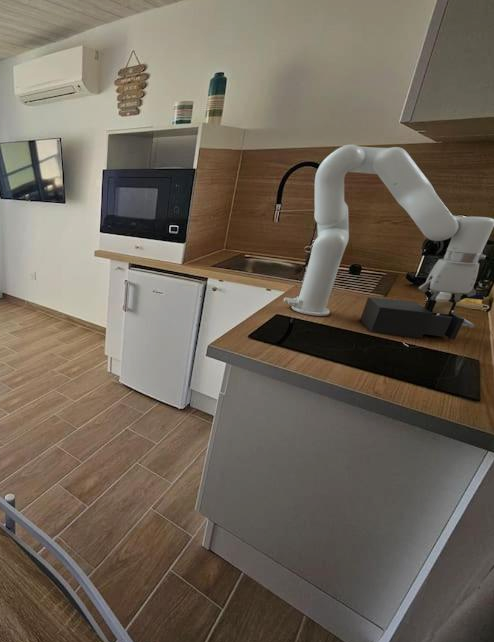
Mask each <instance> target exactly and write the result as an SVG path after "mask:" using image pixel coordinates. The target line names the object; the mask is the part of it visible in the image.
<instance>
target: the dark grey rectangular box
mask: <svg viewBox="0 0 494 642" xmlns="http://www.w3.org/2000/svg"><path fill="white" fill-rule="evenodd" d="M424 307H425V306H423V305H421V304H420V303H418V302H417V301H408V300H399V299H389V298H382V297H381V298H380V297H373V296H372V297H371V296H368V297H367V299H366V302H365V305H364V308H363V311H362V314H361V316H360V320H359V321H360V322H361V323H362V324H363V325H364V326H365V327H366V328H367V329H368V330H369V332H371V333H376V334H384V335H385V334H386V335H393V336H401V337H407V338H414V339H423V336H424V335H425V334H424V332H425V330H426V328H427V326H428V323H429V321H430V319H431V317H432V314H433V313H432V312H430V311H429V310H427V309H426V308H424Z"/></svg>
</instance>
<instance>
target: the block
mask: <svg viewBox="0 0 494 642" xmlns="http://www.w3.org/2000/svg"><path fill="white" fill-rule="evenodd" d="M435 300H436V303H435V306H434V308H433V310H432V313H439V314H449V311H450V309H451V307H452V305H453V303H452V302H450V301H449V300H446V299H435Z"/></svg>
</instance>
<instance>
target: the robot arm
mask: <svg viewBox="0 0 494 642" xmlns="http://www.w3.org/2000/svg"><path fill="white" fill-rule="evenodd" d="M347 173H356V174H357V173H358V174H367V175H368V174H369V175H377V176H378V177H379V179H380V180H381V182H382V183H383V184H384V185H385V187H386V189H388V191H389V192H390V194H391V195H392V196H393V198H394V199H395V201H396V202H397V203H398V205H399V206H401V207H402V208H403V209H404V210H405V212H406V213H407V214H408V216H409V217H410V219H412V221H413V222H414V223H415V225H416V227H417V228H418V229H419V230H420V232H421V233H422V234H423V236H424V237H425V238H426V239H428V240H430V241H433V242H435V241H436V242H442V241H445V240H449V239H450V241H449V244H448V247H447V248H446V251H445V253H444V255H443V257H442V259H441V258H440V259H438V260H437V262H436V263H435V264H434V266H433V267H432V268H431V270H430V272H429V273H428V276H427V278H426V280H425V282H423V283H422V284H421V285H419V286H418V288H417V289H418V290H419V291H420V292H422V293H423V295H425V297H426V298H427V300H426V302H425V304H424V307H425V308H426V309H427V310H429V311H430V312H432V310H433V308H434V306H435V303H436V300H435V299H436V297H437V296H438V295H439V293H440V292H448V293H451V298H450V300H449V301H450V302H452V303H453V305H452V307H451V309H450V311H449V314H450V313H451V311H453V312H454V311H455V308H456V306H457V304H456V303H460V302H461V301H462V300H465V299H467V298H470V297H474V296H476V295H477V291H476V290H475V287H474V286H475V284H476V280H477V278H478V274H479V270H480V269H479V268H480V262H479V261H481V260H485V259H486V257H487V255H486V254H483V251H484V249H485V247H486V244H487V242H488V240H489V238H490V235H491V234H492V231H493V230H494V218H492V217H488V216H459V215H453V214H452V213H451V211H450V210H449V209H448V207H447V206H446V205H445V203H444V202H443V201H442V199H441V198H440V197H439V195H438V193H437V192H436V191H435V189H434V187H433V185H432V183H431V182H430V180H429V179H428V178H427V177H426V176H425V173H423V171H422V170H421V169H420V167H419V166H418V165H417V163H416V162H415V160H413V158H412V156H410V154H409V153H408V152H407V150H405V149H404V148H402V147H399V146H392V147H373V146H360V145H357V144H346V145H342V146H340V147H339V148H337V149H335V150H333V151H332V152H331V153H330V154H328V155H327V156H326V157H325V158H324V159H323V161H322V162H321V163H320V164H319V166H318V168H317V170H316V172H315V177H314V212H313V213H314V214H313V217H314V220H315V222H316V224H317V225H316V226H317V227H316V228H317V236H316V237H315V239H314V241H313V244H312V248H311V252H310V256H309V260H308V264H307V268H306V271H305V274H304V278H303V281H302V285H301V289H300V291H299V296H298V295H297V296H296V297H293V298H290V297H284V298H283V303H287V304H288V305H291V307H290V308H291V309H292V310H293V311H295V312H297V313H300V314H304V315H308V316H315V317H325V316H329V315H330V312H331V311H330V309H329V308H327V306H328V303H329V300H330V297H331V294H332V290H333V287H334V285H335V282H336V278H337V274H338V271H339V269H340V265H341V262H342V259H343V256H344V253H345V251H346V248H347V245H348V244H349V239H350V227H349V223H350V221H349V219H350V218H349V217H350V216H349V205H348V204H347V203H346V201H345V177H346V175H347Z"/></svg>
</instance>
